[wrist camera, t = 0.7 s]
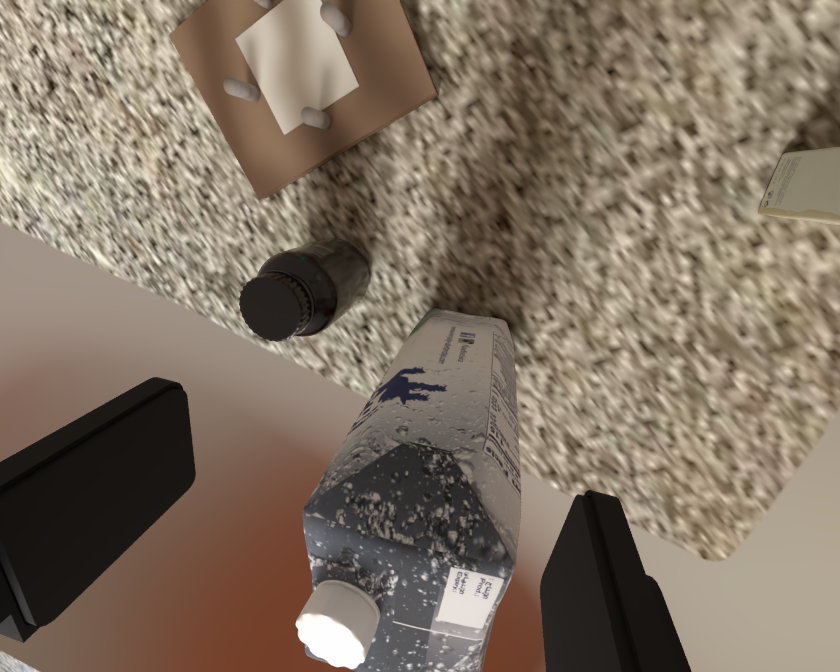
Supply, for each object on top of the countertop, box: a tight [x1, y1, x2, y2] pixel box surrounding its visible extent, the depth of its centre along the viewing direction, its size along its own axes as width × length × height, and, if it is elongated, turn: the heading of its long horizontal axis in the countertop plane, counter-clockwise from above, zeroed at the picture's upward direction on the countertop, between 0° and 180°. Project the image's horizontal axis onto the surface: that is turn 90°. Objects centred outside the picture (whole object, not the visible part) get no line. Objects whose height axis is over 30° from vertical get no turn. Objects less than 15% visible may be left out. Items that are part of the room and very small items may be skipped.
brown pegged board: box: [169, 0, 438, 199], centre depth 30 cm, size 18×14×4 cm
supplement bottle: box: [239, 238, 370, 342], centre depth 32 cm, size 7×7×12 cm
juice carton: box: [296, 308, 521, 672], centre depth 26 cm, size 9×10×27 cm
